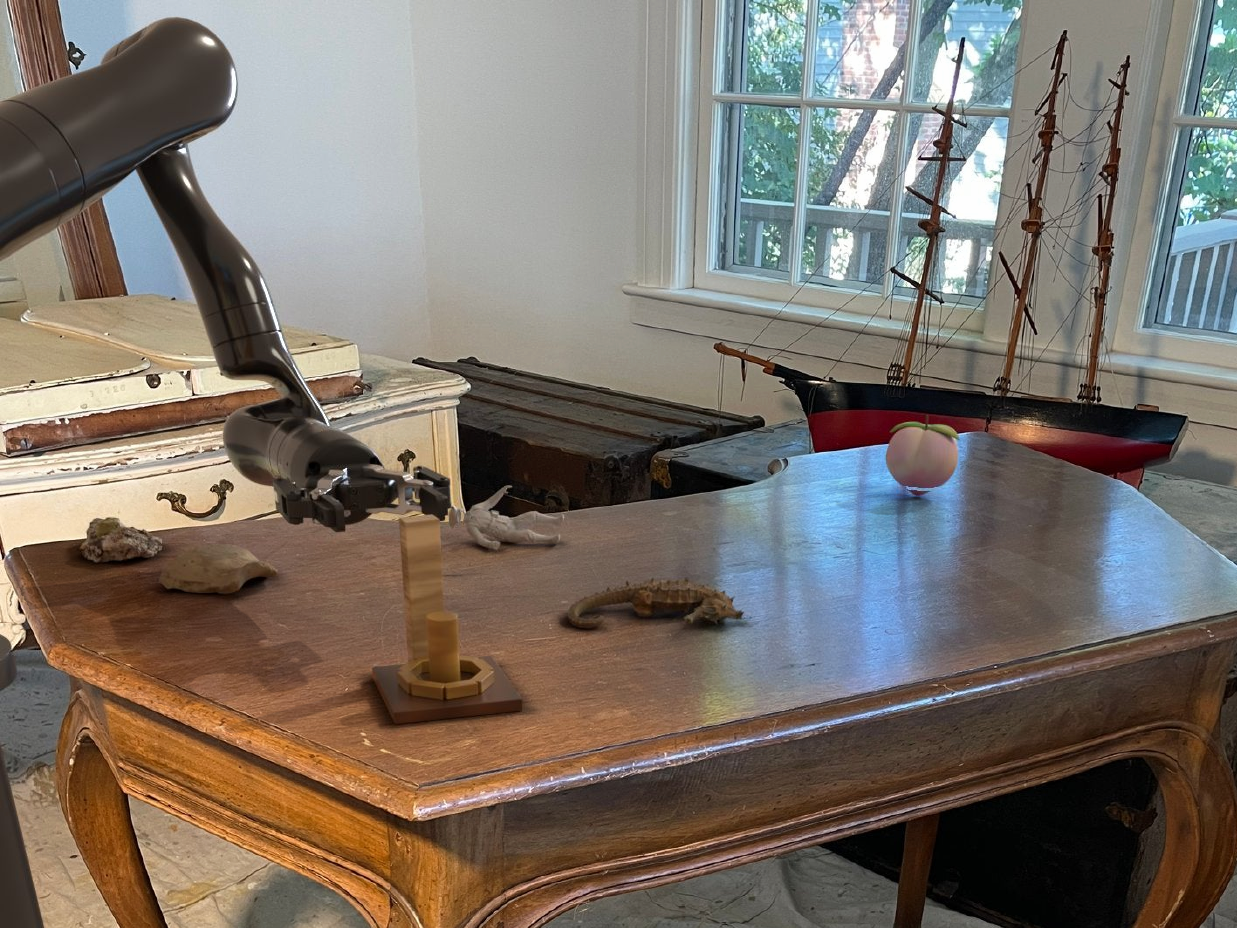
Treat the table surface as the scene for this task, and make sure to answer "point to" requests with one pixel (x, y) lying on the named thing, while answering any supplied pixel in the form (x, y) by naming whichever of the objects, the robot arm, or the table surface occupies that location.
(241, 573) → the pottery shard
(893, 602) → the table surface
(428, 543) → the wooden ring with handle
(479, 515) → the soldier figure
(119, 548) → the mineral rock
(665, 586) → the seahorse
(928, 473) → the decorative fruit
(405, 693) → the peg stand
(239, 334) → the robot arm
